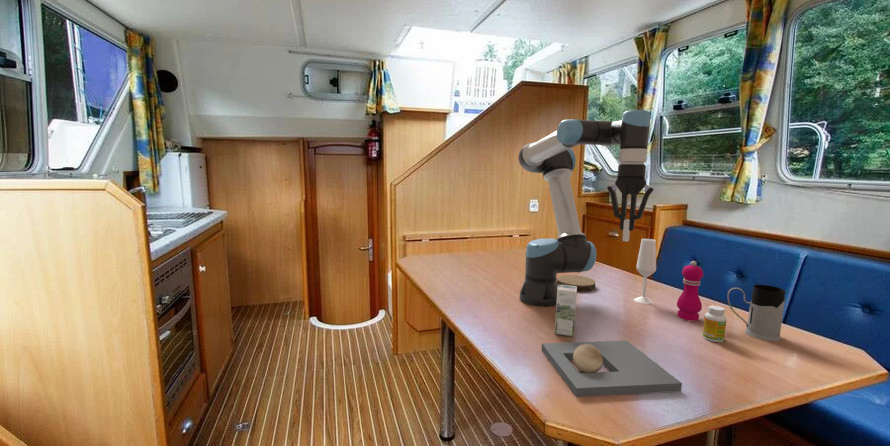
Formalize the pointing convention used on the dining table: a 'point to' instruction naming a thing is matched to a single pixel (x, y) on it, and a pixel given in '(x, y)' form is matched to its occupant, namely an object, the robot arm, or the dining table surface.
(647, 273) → the champagne flute
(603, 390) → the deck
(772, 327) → the glass holder
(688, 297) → the pepper mill
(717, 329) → the supplement bottle
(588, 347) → the tan round lump
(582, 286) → the wood slice
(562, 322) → the syrup box
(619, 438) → the dining table surface
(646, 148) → the robot arm
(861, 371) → the dining table surface
